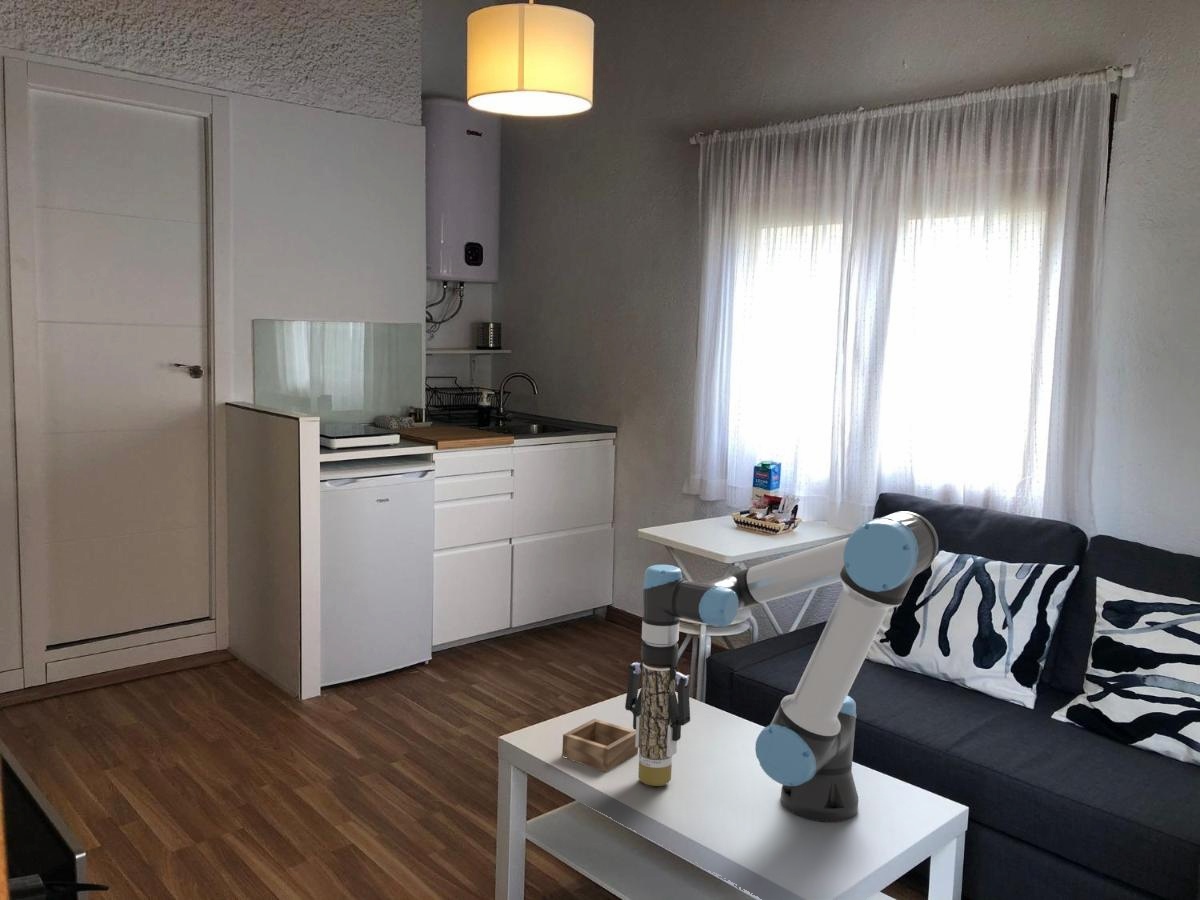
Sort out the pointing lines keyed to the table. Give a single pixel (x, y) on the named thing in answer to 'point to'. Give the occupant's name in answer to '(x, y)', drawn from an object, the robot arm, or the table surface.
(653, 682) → the paper tube
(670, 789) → the table surface
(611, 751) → the holder
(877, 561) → the robot arm
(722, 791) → the table surface
